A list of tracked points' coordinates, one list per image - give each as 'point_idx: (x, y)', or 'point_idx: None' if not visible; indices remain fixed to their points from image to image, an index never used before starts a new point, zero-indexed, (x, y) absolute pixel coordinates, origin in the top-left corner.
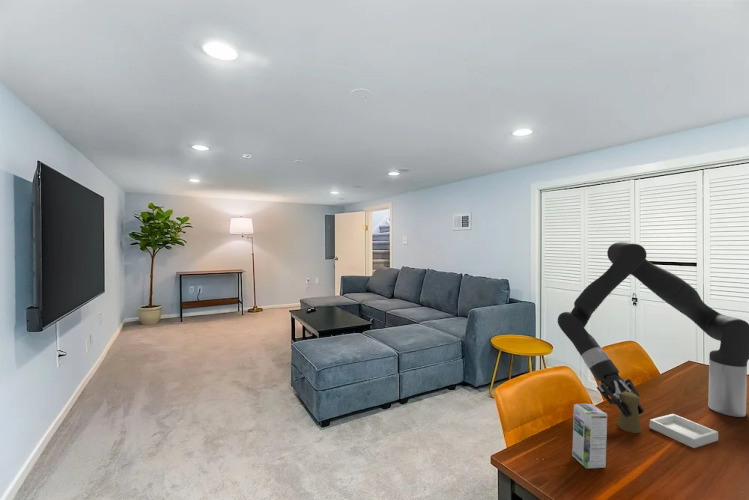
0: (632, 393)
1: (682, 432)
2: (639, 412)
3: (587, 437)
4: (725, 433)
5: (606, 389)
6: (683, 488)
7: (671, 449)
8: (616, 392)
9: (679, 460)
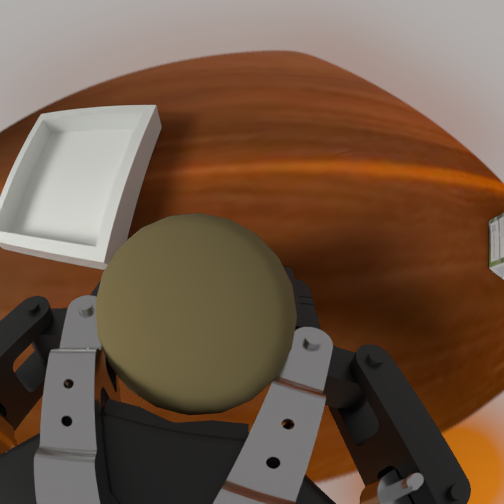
0: (140, 291)
1: (75, 180)
2: None
3: None
4: (3, 148)
5: (439, 453)
6: (398, 106)
7: (242, 153)
8: (314, 421)
9: (294, 124)
